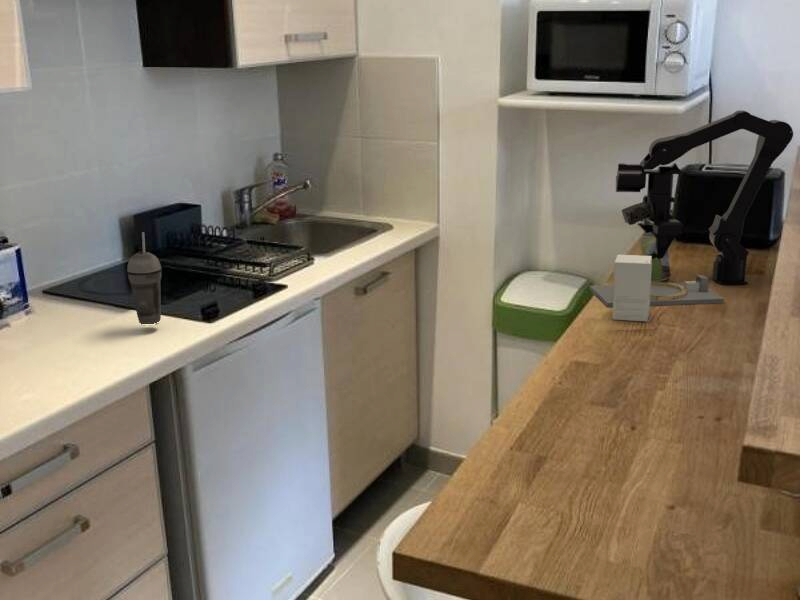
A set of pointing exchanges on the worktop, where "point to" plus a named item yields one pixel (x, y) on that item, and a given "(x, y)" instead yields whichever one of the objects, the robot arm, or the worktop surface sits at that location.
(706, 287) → the tan curved band
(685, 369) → the worktop surface
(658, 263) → the beverage can
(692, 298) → the base
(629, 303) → the supplement box
